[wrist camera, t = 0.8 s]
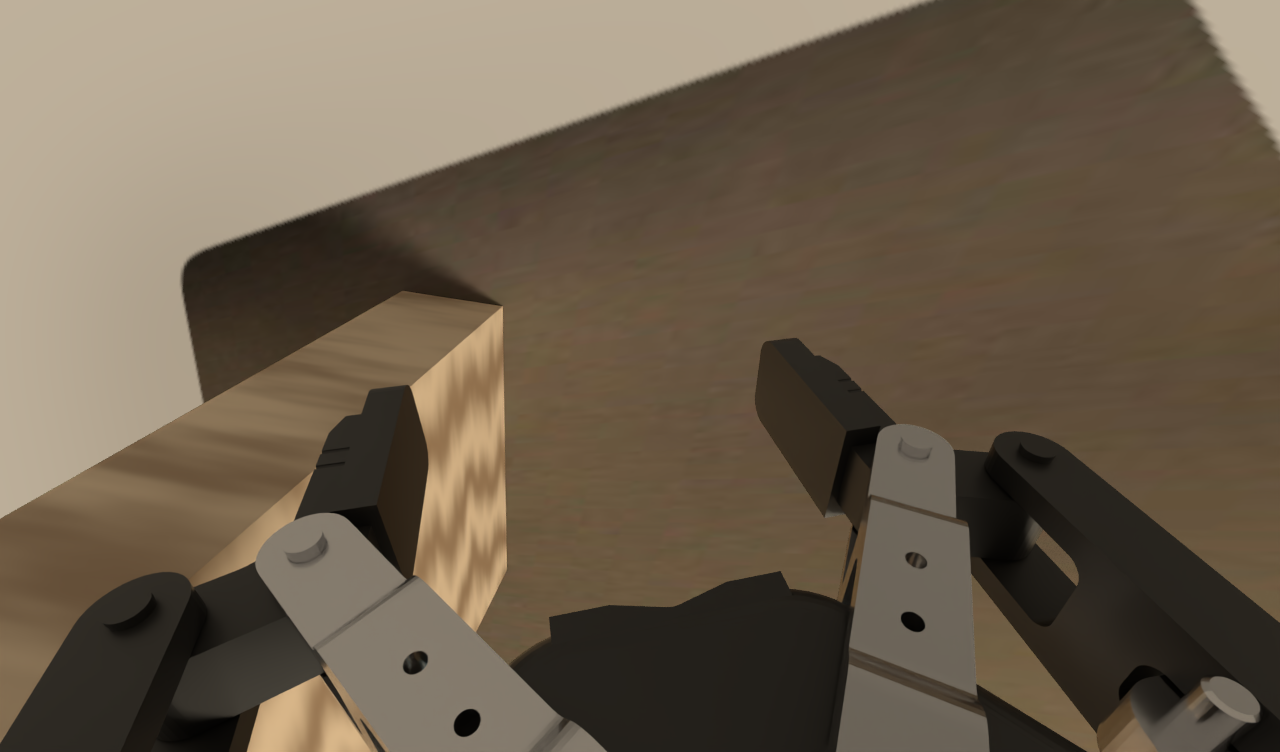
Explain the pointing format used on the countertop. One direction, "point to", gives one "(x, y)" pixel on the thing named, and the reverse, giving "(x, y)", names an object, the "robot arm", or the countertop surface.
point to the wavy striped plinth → (271, 494)
